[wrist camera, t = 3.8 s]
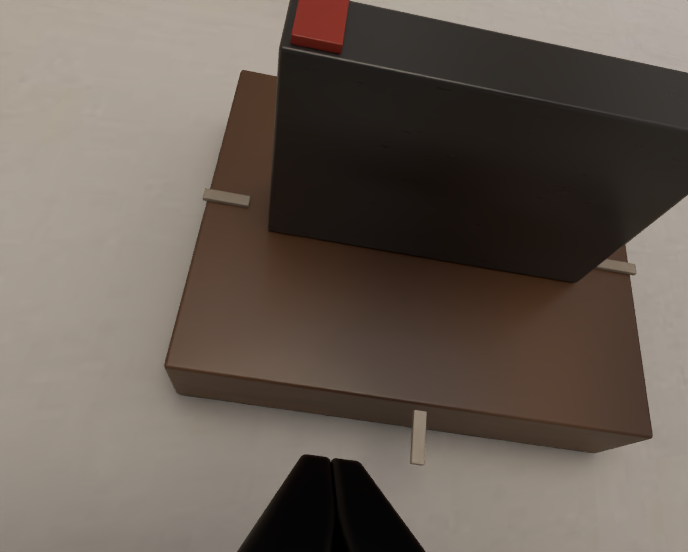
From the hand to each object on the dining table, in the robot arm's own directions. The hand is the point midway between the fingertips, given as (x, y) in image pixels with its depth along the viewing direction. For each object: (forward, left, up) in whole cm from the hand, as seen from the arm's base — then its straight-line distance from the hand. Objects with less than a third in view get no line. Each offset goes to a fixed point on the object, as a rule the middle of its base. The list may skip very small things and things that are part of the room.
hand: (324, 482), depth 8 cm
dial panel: (+7, -6, -9) cm, 13 cm away
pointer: (+7, -6, -6) cm, 11 cm away
